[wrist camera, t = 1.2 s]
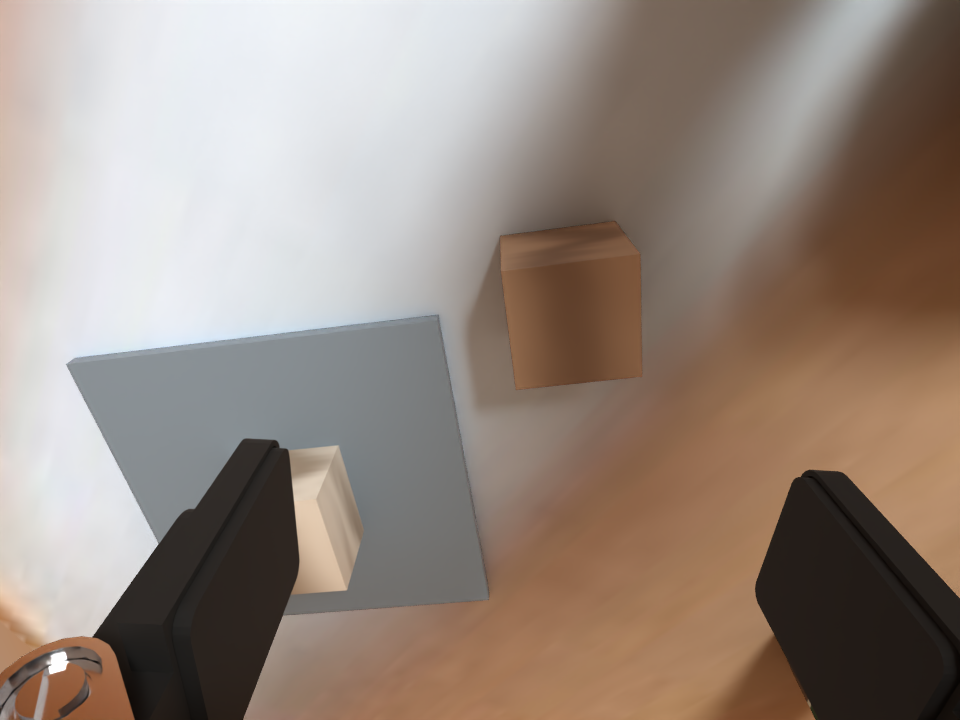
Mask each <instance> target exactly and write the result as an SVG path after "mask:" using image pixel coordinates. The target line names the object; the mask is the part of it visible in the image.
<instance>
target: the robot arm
mask: <svg viewBox="0 0 960 720" xmlns="http://www.w3.org/2000/svg"><path fill="white" fill-rule="evenodd" d="M299 563H300V559H299V547H298V537H297V527H296V517H295V506H294V496H293V486H292V476H291V465H290V456H289V451H288V449H286V448H280V446H279V443H278V441H276V440H269V439H251V438H245V439H243V440H242V441H241V442H240V444H239V445H238V447H237V448H236V450H235V451H234V452H233V454H232V455H231V457H230V458H229V460H228V461H227V463H226V464H225V466H224V467H223V468H222V470H221V471H220V473H219V474H218V476H217V477H216V479H215V480H214V482H213V483H212V484H211V486H210V487H209V489H208V490H207V492H206V493H205V495H204V496H203V498H202V499H201V500H200V502H199V503H198V505H197V506H196V508H195V509H187V510H185V511H183V512H182V513H181V514H180V516H179V517H178V518H177V519H176V521H175V522H174V523H173V525H172V526H171V528H170V529H169V530H168V532H167V533H166V535H165V536H164V537H163V539H162V540H161V542H160V543H159V544H158V546H157V547H156V549H155V550H154V551H153V553H152V554H151V556H150V557H149V558H148V560H147V561H146V563H145V564H144V565H143V567H142V568H141V570H140V571H139V573H138V574H137V575H136V577H135V578H134V580H133V581H132V582H131V584H130V585H129V587H128V588H127V589H126V591H125V592H124V594H123V595H122V596H121V598H120V599H119V601H118V602H117V603H116V605H115V606H114V608H113V609H112V610H111V612H110V613H109V615H108V616H107V617H106V619H105V620H104V622H103V623H102V624H101V626H100V627H99V629H98V630H97V631H96V633H95V634H94V636H93V637H92V638H91V637H83V636H80V637H72V638H65V639H60V640H58V641H55V642H52V643H49V644H46V645H43V646H41V647H39V648H37V649H35V650H33V651H31V652H29V653H27V654H26V655H24V656H22V657H21V658H19V659H18V660H17V661H15V662H14V663H13V664H12V665H10V666H9V667H7V668H6V669H5V670H4V671H2V672H1V674H0V720H243V718H244V715H245V713H246V710H247V707H248V705H249V702H250V700H251V697H252V694H253V692H254V689H255V687H256V684H257V681H258V679H259V676H260V673H261V671H262V668H263V666H264V663H265V660H266V658H267V655H268V653H269V650H270V647H271V645H272V642H273V640H274V637H275V634H276V632H277V629H278V626H279V624H280V621H281V619H282V616H283V613H284V611H285V608H286V606H287V603H288V600H289V598H290V595H291V593H292V590H293V587H294V585H295V582H296V579H297V576H298V572H299ZM755 592H756V598H757V602H758V604H759V606H760V608H761V610H762V612H763V614H764V616H765V618H766V619H767V621H768V623H769V625H770V627H771V629H772V631H773V633H774V635H775V637H776V639H777V640H778V642H779V644H780V646H781V648H782V650H783V652H784V654H785V656H786V658H787V660H788V661H789V663H790V665H791V667H792V669H793V671H794V673H795V675H796V677H797V679H798V681H799V682H800V684H801V686H802V688H803V690H804V692H805V694H806V696H807V698H808V700H809V702H810V703H811V705H812V707H813V709H814V711H815V713H816V715H817V717H818V719H819V720H960V598H959V597H958V596H957V595H956V594H955V593H954V592H953V591H952V590H951V588H950V587H949V586H948V585H947V584H946V583H945V582H944V581H943V580H942V579H941V578H940V577H939V575H938V574H937V573H936V572H935V571H934V570H933V569H932V568H931V567H930V566H929V565H928V563H927V562H926V561H925V560H924V559H923V558H922V557H921V556H920V555H919V554H918V553H917V552H916V550H915V549H914V548H913V547H912V546H911V545H910V544H909V543H908V542H907V541H906V540H905V539H904V537H903V536H902V535H901V534H900V533H899V532H898V531H897V530H896V529H895V528H894V527H893V525H892V524H891V523H890V522H889V521H888V520H887V519H886V518H885V517H884V516H883V515H882V514H881V512H880V511H879V510H878V509H877V508H876V507H875V506H874V505H873V504H872V503H871V502H870V501H869V499H868V498H867V497H866V496H865V495H864V494H863V493H862V492H861V491H860V490H859V489H858V487H857V486H856V485H855V484H854V483H853V482H852V481H851V480H850V479H849V478H848V477H847V476H846V475H845V474H844V473H842V472H838V471H820V470H808V471H805V472H804V473H803V474H802V476H801V477H798V478H795V479H794V480H793V482H792V484H791V487H790V490H789V492H788V495H787V498H786V501H785V504H784V506H783V509H782V512H781V515H780V517H779V520H778V523H777V526H776V528H775V531H774V534H773V537H772V540H771V542H770V545H769V548H768V551H767V553H766V556H765V559H764V562H763V565H762V567H761V570H760V573H759V576H758V578H757V581H756V585H755Z"/></svg>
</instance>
